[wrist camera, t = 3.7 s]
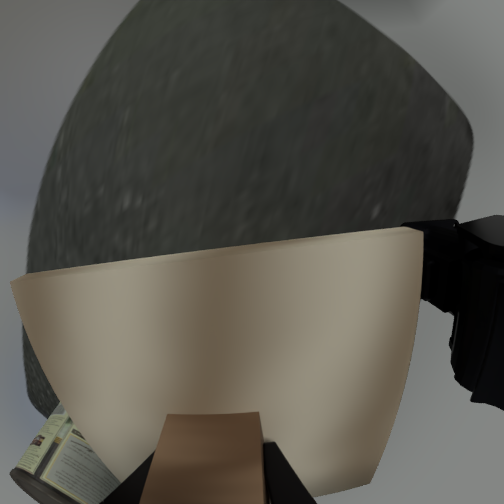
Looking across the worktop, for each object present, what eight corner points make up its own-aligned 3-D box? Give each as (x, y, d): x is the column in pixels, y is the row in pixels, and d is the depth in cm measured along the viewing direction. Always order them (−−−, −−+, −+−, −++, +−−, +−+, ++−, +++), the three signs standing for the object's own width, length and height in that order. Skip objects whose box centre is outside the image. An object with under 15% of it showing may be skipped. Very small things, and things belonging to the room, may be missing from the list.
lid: (392, 223, 8) (541, 271, 2) (361, 460, 11) (388, 537, 5) (38, 268, 8) (-70, 325, 2) (138, 472, 11) (116, 544, 5)
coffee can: (126, 456, 25) (97, 536, 11) (59, 412, 23) (12, 483, 9) (154, 426, 23) (120, 534, 9) (73, 372, 21) (4, 462, 8)
